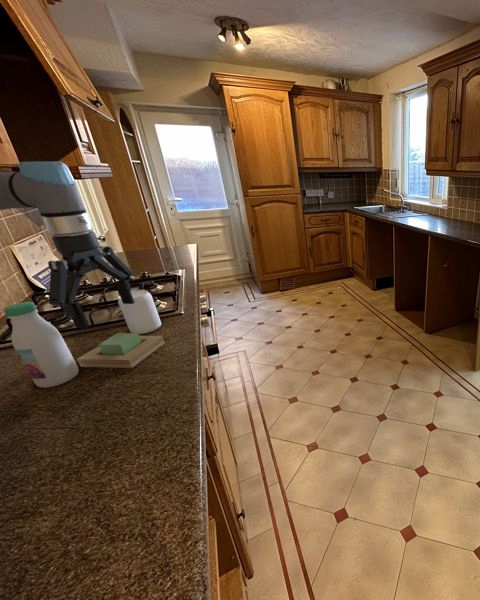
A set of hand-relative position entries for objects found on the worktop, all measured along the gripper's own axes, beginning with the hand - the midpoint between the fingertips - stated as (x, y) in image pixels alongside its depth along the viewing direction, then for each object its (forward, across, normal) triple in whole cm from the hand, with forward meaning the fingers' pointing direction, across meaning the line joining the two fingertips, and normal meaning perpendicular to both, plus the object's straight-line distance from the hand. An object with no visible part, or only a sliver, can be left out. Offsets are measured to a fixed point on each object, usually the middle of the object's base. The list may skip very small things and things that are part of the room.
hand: (107, 314), depth 84 cm
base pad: (+12, 0, 0) cm, 12 cm away
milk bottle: (+13, -11, +8) cm, 18 cm away
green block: (+11, 0, 0) cm, 11 cm away
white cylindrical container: (+13, +14, +5) cm, 19 cm away
